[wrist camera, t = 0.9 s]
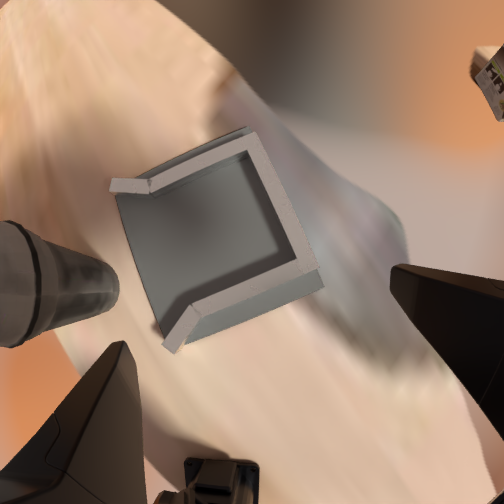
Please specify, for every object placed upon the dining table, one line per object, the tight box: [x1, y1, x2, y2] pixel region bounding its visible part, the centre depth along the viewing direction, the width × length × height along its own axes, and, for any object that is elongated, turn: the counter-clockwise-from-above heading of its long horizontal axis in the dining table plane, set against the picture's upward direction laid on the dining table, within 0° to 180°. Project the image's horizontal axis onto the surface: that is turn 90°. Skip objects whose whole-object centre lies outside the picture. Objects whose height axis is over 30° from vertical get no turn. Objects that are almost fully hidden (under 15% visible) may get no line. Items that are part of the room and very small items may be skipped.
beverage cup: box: [0, 220, 119, 348], centre depth 14 cm, size 7×7×20 cm
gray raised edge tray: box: [115, 126, 324, 345], centre depth 24 cm, size 13×14×1 cm
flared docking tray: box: [109, 132, 319, 354], centre depth 23 cm, size 13×15×2 cm
